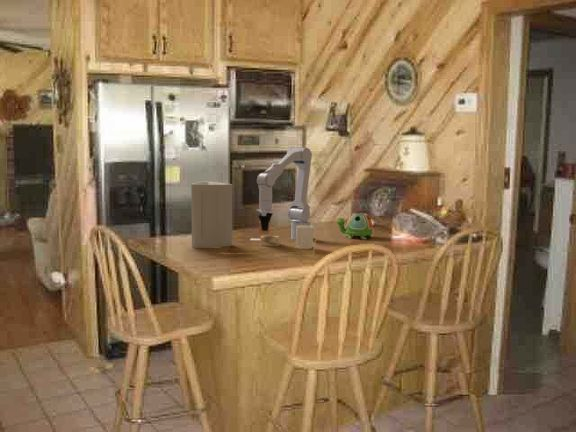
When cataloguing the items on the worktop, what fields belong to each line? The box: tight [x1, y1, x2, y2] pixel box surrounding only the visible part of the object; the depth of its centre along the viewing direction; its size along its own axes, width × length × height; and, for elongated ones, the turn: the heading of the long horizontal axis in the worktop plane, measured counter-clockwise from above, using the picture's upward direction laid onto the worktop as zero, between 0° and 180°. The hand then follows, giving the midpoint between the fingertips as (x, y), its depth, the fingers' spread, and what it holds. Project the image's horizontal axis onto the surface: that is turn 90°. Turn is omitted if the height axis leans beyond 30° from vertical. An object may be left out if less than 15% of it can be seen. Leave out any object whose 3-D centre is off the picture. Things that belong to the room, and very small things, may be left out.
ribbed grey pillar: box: [190, 181, 233, 249], centre depth 267 cm, size 19×15×28 cm
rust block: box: [258, 220, 271, 235], centre depth 269 cm, size 4×4×5 cm
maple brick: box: [259, 235, 280, 247], centre depth 270 cm, size 8×5×4 cm, turn 86°
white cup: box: [295, 225, 315, 250], centre depth 263 cm, size 8×8×10 cm
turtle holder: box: [336, 212, 374, 240], centre depth 295 cm, size 12×18×12 cm
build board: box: [249, 237, 280, 247], centre depth 276 cm, size 18×19×1 cm
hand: (265, 229), depth 269 cm, fingers closed on rust block, 4 cm apart
